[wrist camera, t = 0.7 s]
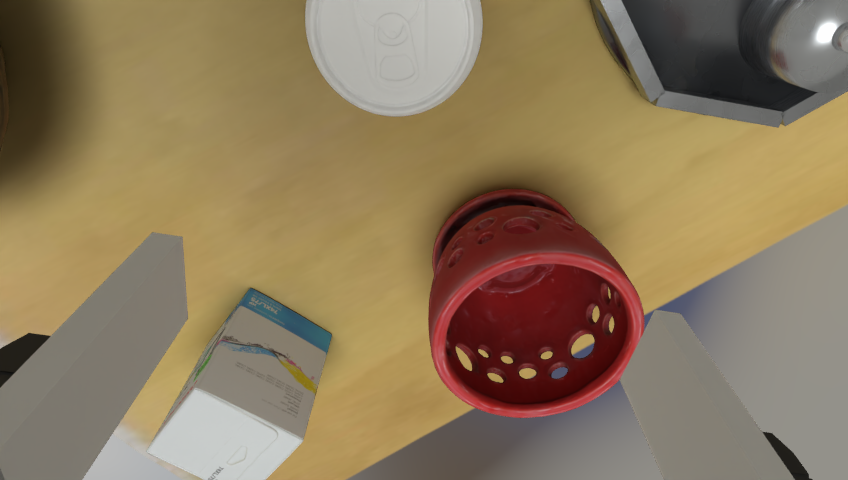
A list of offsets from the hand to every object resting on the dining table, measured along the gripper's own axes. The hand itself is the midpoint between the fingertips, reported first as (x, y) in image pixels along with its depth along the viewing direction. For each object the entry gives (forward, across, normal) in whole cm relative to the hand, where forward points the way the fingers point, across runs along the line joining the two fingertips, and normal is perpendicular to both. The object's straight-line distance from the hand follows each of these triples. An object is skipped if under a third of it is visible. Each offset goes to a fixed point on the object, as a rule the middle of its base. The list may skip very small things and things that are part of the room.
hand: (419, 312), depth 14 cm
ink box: (+24, -10, -24) cm, 35 cm away
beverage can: (+24, -2, +5) cm, 25 cm away
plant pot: (+24, +9, -11) cm, 28 cm away
